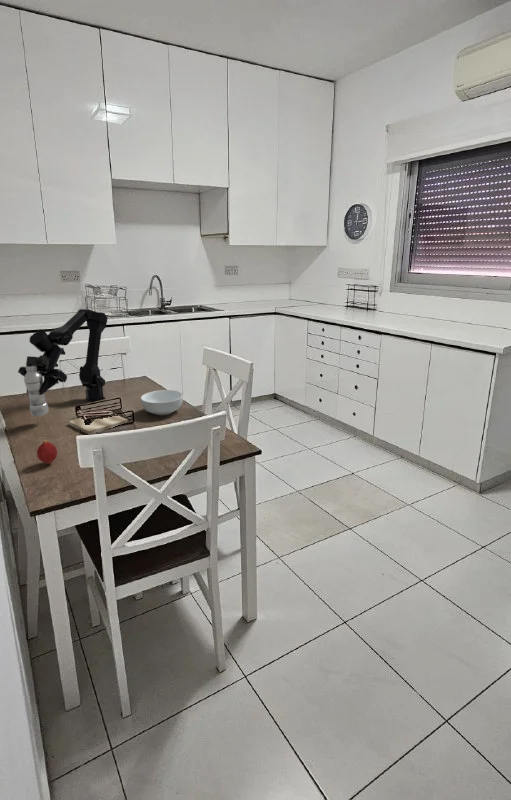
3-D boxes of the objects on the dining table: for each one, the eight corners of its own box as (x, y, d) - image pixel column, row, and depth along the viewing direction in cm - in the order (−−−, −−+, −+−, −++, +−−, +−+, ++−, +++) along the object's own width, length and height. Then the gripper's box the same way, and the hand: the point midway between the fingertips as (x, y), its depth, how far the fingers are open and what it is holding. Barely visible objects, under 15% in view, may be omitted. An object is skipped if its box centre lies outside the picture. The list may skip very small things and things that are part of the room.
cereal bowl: (134, 412, 192) (132, 396, 189) (167, 403, 203) (165, 387, 201) (158, 422, 181) (157, 404, 178) (192, 411, 192) (191, 395, 190)
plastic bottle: (53, 412, 182) (44, 363, 175) (42, 418, 176) (32, 368, 169) (38, 410, 184) (29, 361, 176) (27, 417, 177) (17, 367, 170)
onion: (42, 460, 149) (38, 437, 147) (61, 459, 150) (57, 436, 147) (36, 468, 144) (31, 444, 141) (55, 467, 144) (51, 443, 142)
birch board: (107, 414, 190) (106, 410, 190) (128, 423, 180) (127, 419, 179) (69, 424, 179) (68, 421, 179) (89, 435, 169) (88, 431, 168)
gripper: (17, 346, 178) (-1, 381, 171) (57, 348, 172) (40, 385, 166) (35, 361, 187) (19, 395, 181) (74, 363, 182) (59, 399, 175)
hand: (33, 393), depth 175 cm, fingers closed on plastic bottle, 5 cm apart
